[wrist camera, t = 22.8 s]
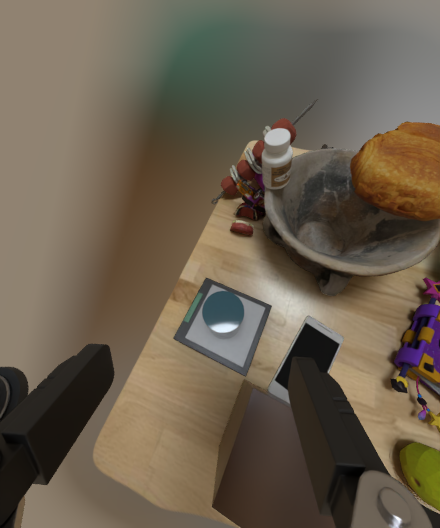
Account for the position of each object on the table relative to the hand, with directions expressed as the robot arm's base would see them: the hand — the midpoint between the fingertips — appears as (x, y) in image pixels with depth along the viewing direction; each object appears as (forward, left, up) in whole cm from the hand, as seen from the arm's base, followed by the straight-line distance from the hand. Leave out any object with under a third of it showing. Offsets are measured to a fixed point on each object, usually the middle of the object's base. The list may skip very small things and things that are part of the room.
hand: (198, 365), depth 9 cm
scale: (-2, +7, -31) cm, 31 cm away
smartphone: (+14, +7, -31) cm, 35 cm away
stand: (+10, -5, -31) cm, 32 cm away
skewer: (-19, +34, -32) cm, 51 cm away
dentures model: (-7, +26, -29) cm, 39 cm away
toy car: (-6, +36, -24) cm, 43 cm away
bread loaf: (+15, +34, -7) cm, 37 cm away
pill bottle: (-3, +29, -15) cm, 33 cm away
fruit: (+28, -1, -27) cm, 39 cm away
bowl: (+9, +31, -31) cm, 44 cm away
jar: (-2, +7, -28) cm, 29 cm away
